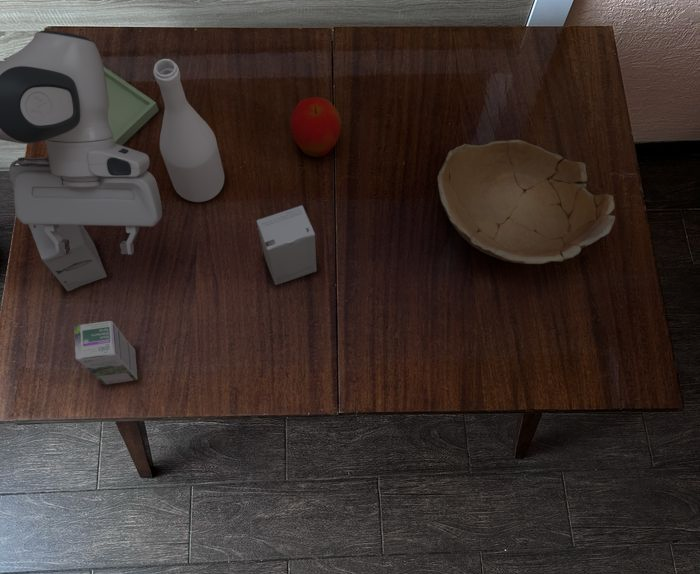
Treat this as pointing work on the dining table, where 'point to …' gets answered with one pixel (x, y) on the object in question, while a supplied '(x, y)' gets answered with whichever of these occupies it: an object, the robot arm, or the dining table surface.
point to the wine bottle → (187, 141)
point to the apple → (315, 126)
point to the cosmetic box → (288, 244)
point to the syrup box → (105, 352)
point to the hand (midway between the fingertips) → (95, 253)
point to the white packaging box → (70, 256)
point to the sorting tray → (126, 108)
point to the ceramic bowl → (522, 202)
